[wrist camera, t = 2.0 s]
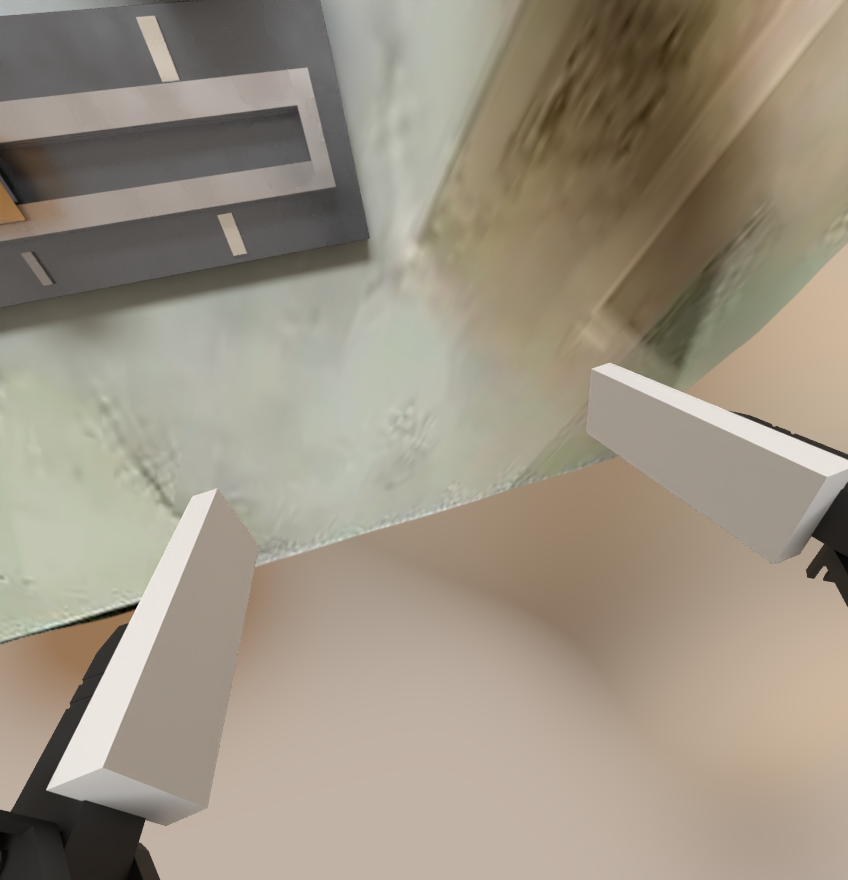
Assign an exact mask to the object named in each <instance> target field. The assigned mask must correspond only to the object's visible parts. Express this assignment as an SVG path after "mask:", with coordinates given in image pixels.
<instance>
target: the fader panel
mask: <svg viewBox="0 0 848 880" xmlns="http://www.w3.org/2000/svg"><path fill="white" fill-rule="evenodd" d="M0 175H1V177H2V178H3V180H4V181H5V183H6V184H7V186H8V187H9V189H10V190H11V192H12V193H13V195H14V196H15V198H16V199H17V201H18V202H14V203H15V205H16V206H17V208H18V209H19V211H20V212H21V214H22V215H23V216H24V218H25V219H26V220H23V221H16V222H10V223H3V224H0V307H5V306H11V305H16V304H21V303H27V302H32V301H37V300H43V299H48V298H53V297H59V296H64V295H69V294H75V293H80V292H86V291H91V290H96V289H102V288H107V287H112V286H118V285H123V284H128V283H134V282H139V281H144V280H150V279H155V278H160V277H166V276H171V275H176V274H182V273H187V272H192V271H198V270H203V269H208V268H214V267H219V266H224V265H230V264H235V263H240V262H246V261H251V260H256V259H262V258H267V257H272V256H278V255H283V254H289V253H294V252H299V251H305V250H310V249H315V248H321V247H326V246H331V245H337V244H342V243H347V242H353V241H358V240H363V239H369V238H370V237H369V233H368V228H367V223H366V218H365V213H364V209H363V204H362V199H361V194H360V189H359V185H358V180H357V175H356V170H355V165H354V161H353V156H352V151H351V146H350V141H349V137H348V132H347V127H346V122H345V117H344V113H343V108H342V103H341V98H340V93H339V89H338V84H337V79H336V74H335V69H334V65H333V60H332V55H331V50H330V45H329V41H328V36H327V31H326V26H325V21H324V17H323V12H322V7H321V2H320V0H197V1H184V2H172V3H159V4H147V5H134V6H122V7H109V8H97V9H84V10H72V11H59V12H47V13H34V14H22V15H9V16H0Z"/></svg>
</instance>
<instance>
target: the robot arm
mask: <svg viewBox="0 0 848 880" xmlns="http://www.w3.org/2000/svg"><path fill="white" fill-rule="evenodd" d="M586 433H587V434H589V435H590V436H592V437H593V438H595V439H596V440H597V441H599V442H600V443H602V444H603V445H604V446H606V447H607V448H609V449H610V450H611V451H613V452H614V453H616V454H617V455H619V456H620V457H622V458H623V459H624V460H626V461H627V462H628V463H630V464H632V465H633V466H634V467H636V468H637V469H638V470H640V471H641V472H643V473H644V474H645V475H647V476H648V477H650V478H651V479H653V480H654V481H655V482H657V483H658V484H660V485H661V486H663V487H664V488H665V489H667V490H668V491H669V492H671V493H672V494H674V495H675V496H677V497H678V498H680V499H681V500H682V501H684V502H685V503H687V504H688V505H689V506H691V507H692V508H694V509H695V510H696V511H698V512H699V513H701V514H702V515H704V516H705V517H707V518H708V519H709V520H711V521H712V522H713V523H715V524H716V525H718V526H719V527H720V528H722V529H723V530H725V531H726V532H727V533H729V534H730V535H732V536H733V537H735V538H736V539H737V540H739V541H740V542H742V543H743V544H745V545H746V546H747V547H749V548H750V549H752V550H753V551H754V552H756V553H757V554H759V555H760V556H761V557H763V558H764V559H766V560H767V561H769V562H770V563H771V564H773V565H775V564H777V563H780V562H782V561H784V560H787V559H789V558H791V557H794V556H796V555H798V554H800V553H801V551H802V550H803V548H804V547H805V545H806V544H807V542H808V541H809V539H810V538H811V536H812V537H814V538H816V539H817V540H819V541H821V542H822V543H824V545H823V547H822V548H821V549H820V551H819V552H818V554H817V555H816V557H815V558H814V559H813V561H812V562H811V564H810V565H809V566H808V568H807V569H806V572H807V577H808V578H813V579H814V578H815V577H816V575H817V574H818V573H819V571H820V570H821V569H822V567H823V566H826V567H827V569H828V572H827V573H826V574H825V576H824V578H823V580H824V581H828V582H834V583H835V584H836V586H837V588H838V589H839V592H840V593H841V595H842V597H843V599H844V601H845V603H846V605H847V606H848V454H845V453H843V452H840V451H838V450H835V449H833V448H830V447H828V446H825V445H823V444H820V443H818V442H815V441H813V440H810V439H808V438H805V437H803V436H800V435H798V434H791V432H790V431H788V430H785V429H783V428H780V427H778V426H776V427H773V426H772V424H770V423H768V422H765V421H763V420H760V419H758V418H755V417H752V416H750V415H746V414H741V413H737V412H732V411H727V410H724V409H722V408H720V407H717V406H715V405H712V404H710V403H707V402H705V401H702V400H700V399H698V398H695V397H692V396H690V395H688V394H685V393H683V392H681V391H678V390H676V389H673V388H671V387H668V386H666V385H663V384H661V383H659V382H656V381H654V380H651V379H649V378H646V377H644V376H641V375H639V374H637V373H634V372H632V371H629V370H627V369H624V368H622V367H619V366H617V365H615V364H612V363H608V364H605V365H601V366H598V367H595V368H592V369H591V379H590V392H589V404H588V417H587V429H586ZM258 548H259V545H258V543H257V542H256V541H255V539H254V538H253V536H252V535H251V534H250V532H249V531H248V530H247V528H246V527H245V525H244V524H243V523H242V521H241V520H240V519H239V517H238V516H237V514H236V513H235V512H234V510H233V509H232V508H231V506H230V505H229V503H228V502H227V501H226V499H225V498H224V497H223V495H222V494H221V492H220V491H219V490H218V488H217V489H214V490H211V491H208V492H205V493H201V494H198V495H195V496H192V498H191V500H190V502H189V504H188V506H187V508H186V510H185V512H184V514H183V516H182V518H181V520H180V522H179V524H178V526H177V528H176V530H175V532H174V534H173V536H172V538H171V540H170V542H169V544H168V546H167V548H166V550H165V552H164V554H163V556H162V558H161V560H160V562H159V564H158V566H157V568H156V570H155V572H154V574H153V576H152V578H151V580H150V582H149V584H148V586H147V588H146V590H145V592H144V594H143V596H142V598H141V600H140V602H139V604H138V606H137V608H136V610H135V612H134V615H133V616H132V618H131V621H130V622H129V623H128V624H124V625H121V626H119V627H118V628H117V629H116V630H115V632H114V633H113V634H112V635H111V636H110V638H109V639H108V640H107V641H106V642H105V644H104V645H103V646H102V647H101V648H100V650H99V651H98V652H97V654H96V655H95V657H94V659H93V661H92V663H91V665H90V666H89V668H88V670H87V672H86V674H85V676H84V678H83V679H82V680H83V684H82V685H79V687H78V689H77V691H76V693H75V694H74V696H73V698H72V700H71V702H70V708H69V709H66V711H65V713H64V715H63V717H62V718H61V720H60V722H59V724H58V726H57V728H56V729H55V731H54V733H53V735H52V737H51V739H50V741H49V742H48V744H47V746H46V748H45V750H44V752H43V753H42V755H41V757H40V759H39V761H38V763H37V764H36V766H35V768H34V770H33V772H32V774H31V776H30V777H29V779H28V781H27V783H26V785H25V787H24V789H23V790H22V792H21V794H20V796H19V798H18V800H17V801H16V803H15V805H14V807H13V809H12V810H11V812H8V811H3V810H0V880H160V878H159V876H158V873H157V871H156V868H155V866H154V863H153V861H152V858H151V856H150V854H149V851H148V850H147V849H146V848H145V847H144V846H143V845H142V844H141V843H139V839H140V836H141V833H142V829H143V826H144V823H145V820H147V821H151V822H154V823H158V824H161V825H164V826H167V825H169V824H172V823H174V822H176V821H178V820H181V819H183V818H185V817H188V816H190V815H192V814H195V813H197V812H199V811H202V810H204V809H207V807H208V803H209V797H210V792H211V787H212V782H213V777H214V772H215V767H216V762H217V757H218V751H219V747H220V742H221V737H222V731H223V726H224V721H225V716H226V710H227V705H228V701H229V695H230V690H231V686H232V680H233V675H234V670H235V665H236V660H237V655H238V650H239V645H240V640H241V634H242V630H243V624H244V619H245V614H246V609H247V604H248V599H249V594H250V589H251V584H252V578H253V573H254V568H255V563H256V558H257V553H258Z"/></svg>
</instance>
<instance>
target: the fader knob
mask: <svg viewBox="0 0 848 880" xmlns="http://www.w3.org/2000/svg"><path fill="white" fill-rule="evenodd" d="M14 202H18V201H17V199H16V198H15V196H14V195H13V193H12V192H11V190H10V189H9V187H8V186H7V184H6V183H5V181H4V180H3V178H2V177H1V175H0V224H3V223H10V222H16V221H23V220H26V219H25V218H24V216H23V215H22V214H21V212H20V211H19V209H18V208H17V206H16V205H15V203H14Z"/></svg>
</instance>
